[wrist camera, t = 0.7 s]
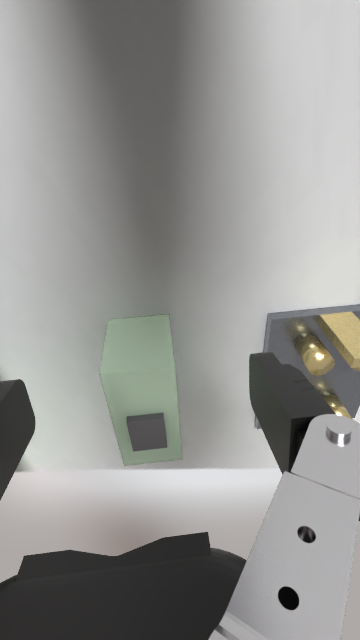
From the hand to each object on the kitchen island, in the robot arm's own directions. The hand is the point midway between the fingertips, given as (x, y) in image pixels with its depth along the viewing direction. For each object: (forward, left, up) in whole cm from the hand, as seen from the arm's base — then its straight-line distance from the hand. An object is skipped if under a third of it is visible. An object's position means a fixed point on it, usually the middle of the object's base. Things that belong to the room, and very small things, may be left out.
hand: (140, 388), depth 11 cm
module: (+14, -1, -16) cm, 21 cm away
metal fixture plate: (+17, +17, -16) cm, 29 cm away
